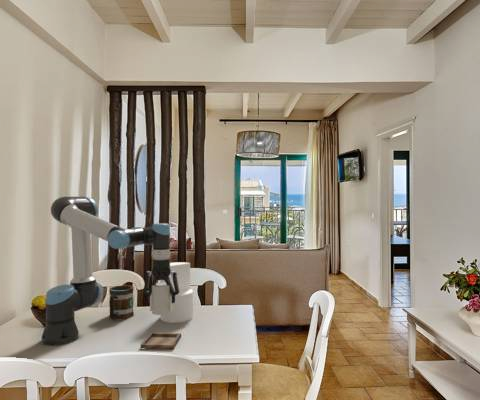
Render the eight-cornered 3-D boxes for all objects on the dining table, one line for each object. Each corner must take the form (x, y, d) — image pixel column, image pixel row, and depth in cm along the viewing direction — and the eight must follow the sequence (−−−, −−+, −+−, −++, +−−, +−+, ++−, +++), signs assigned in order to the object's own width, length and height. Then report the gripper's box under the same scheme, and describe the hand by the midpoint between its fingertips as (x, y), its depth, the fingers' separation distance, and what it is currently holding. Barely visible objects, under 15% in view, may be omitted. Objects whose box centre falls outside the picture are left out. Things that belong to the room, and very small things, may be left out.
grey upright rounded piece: (166, 315, 155) (166, 287, 155) (148, 314, 157) (148, 286, 157) (173, 309, 163) (173, 283, 163) (156, 308, 165) (156, 282, 165)
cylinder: (154, 317, 196) (154, 264, 196) (181, 310, 207) (181, 261, 207) (171, 325, 183) (171, 269, 183) (199, 317, 194) (199, 265, 195)
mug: (115, 311, 206) (115, 284, 206) (138, 312, 204) (138, 285, 204) (98, 323, 186) (98, 293, 186) (123, 323, 185) (123, 294, 185)
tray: (140, 348, 154) (140, 344, 154) (151, 336, 168) (151, 332, 168) (173, 349, 152) (173, 345, 153) (181, 337, 166) (181, 333, 166)
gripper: (135, 259, 157) (135, 312, 157) (182, 260, 156) (183, 313, 155) (141, 257, 165) (141, 307, 165) (186, 257, 163) (186, 308, 163)
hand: (161, 310), depth 160 cm, fingers closed on grey upright rounded piece, 8 cm apart
